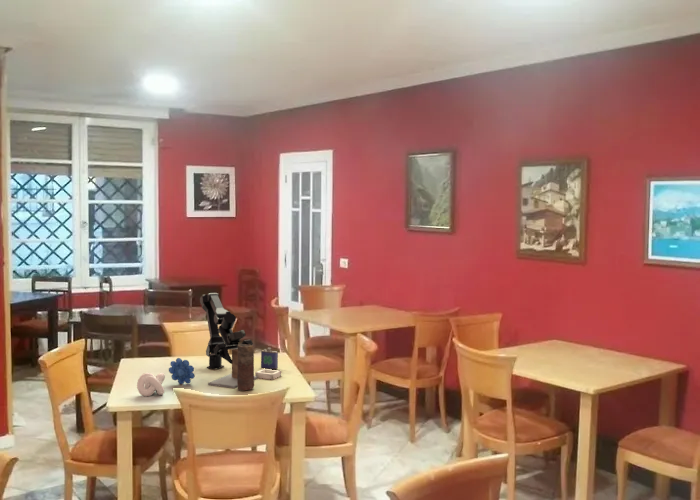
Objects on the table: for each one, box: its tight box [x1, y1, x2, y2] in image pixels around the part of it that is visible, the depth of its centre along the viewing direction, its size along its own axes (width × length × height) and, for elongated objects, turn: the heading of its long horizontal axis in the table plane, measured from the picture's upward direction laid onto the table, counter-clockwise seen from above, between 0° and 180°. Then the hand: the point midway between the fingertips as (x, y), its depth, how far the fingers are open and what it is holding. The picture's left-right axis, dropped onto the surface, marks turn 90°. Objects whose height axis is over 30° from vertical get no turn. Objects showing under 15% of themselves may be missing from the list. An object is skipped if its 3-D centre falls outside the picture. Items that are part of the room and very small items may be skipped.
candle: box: [237, 343, 255, 392], centre depth 308 cm, size 8×7×20 cm
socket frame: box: [254, 368, 282, 380], centre depth 331 cm, size 8×9×2 cm
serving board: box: [207, 372, 259, 389], centre depth 322 cm, size 20×14×1 cm
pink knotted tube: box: [136, 372, 166, 397], centre depth 298 cm, size 11×12×9 cm
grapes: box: [168, 357, 196, 385], centre depth 314 cm, size 12×7×12 cm, turn 95°
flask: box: [260, 347, 279, 370], centre depth 348 cm, size 9×3×11 cm, turn 68°
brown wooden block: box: [231, 348, 238, 379], centre depth 325 cm, size 4×5×13 cm
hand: (240, 361), depth 324 cm, fingers open, 9 cm apart
